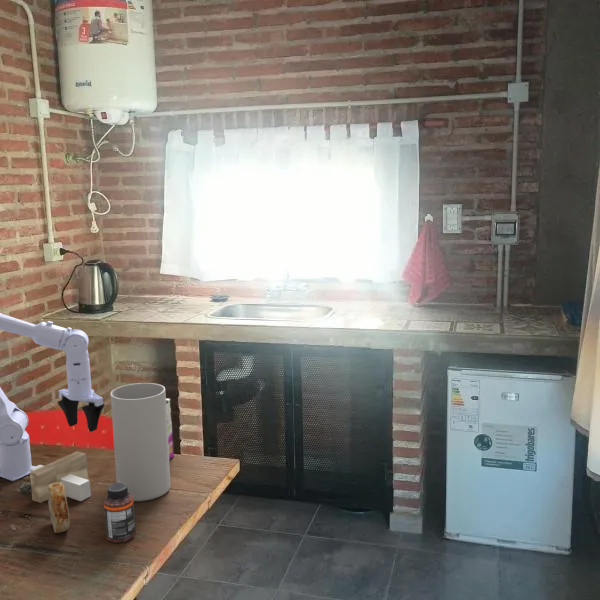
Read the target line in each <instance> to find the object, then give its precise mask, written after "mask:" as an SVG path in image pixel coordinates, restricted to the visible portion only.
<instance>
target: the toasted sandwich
mask: <svg viewBox="0 0 600 600" xmlns="http://www.w3.org/2000/svg"><path fill="white" fill-rule="evenodd" d="M48 490H49V499H48V500H47V501H48V510H49V515H50V519H51V520H50V521H51V524H52V527H53V532H54V533H55V534H60V533H64V532H66V531H68V530H69V528H70V524H71V523H70V512H69V505H68V501H67V496H66V492H65V487H64V483H62V482H56V483H52V484H49V485H48Z"/></svg>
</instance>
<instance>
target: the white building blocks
mask: <svg viewBox="0 0 600 600" xmlns="http://www.w3.org/2000/svg"><path fill="white" fill-rule="evenodd" d="M43 466H44V465H42V464H38V465H36V466H35V467H33V468H31V469H30V472H31V471H34V470H36V469H38V468H41V467H43ZM60 482H62V483H64V487H65V492H66V498H70V499H73V500H76V501H79V502H82V501H84V500H87V499H88V498H89V497H91V496H92V492H91V482H90V480H89V479H88V480H87V479H84V478H81V477H78V476H74V475H71V474H69V475H67V476H65V477H63V478H61V479H60Z"/></svg>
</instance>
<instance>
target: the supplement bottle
mask: <svg viewBox="0 0 600 600" xmlns="http://www.w3.org/2000/svg"><path fill="white" fill-rule="evenodd" d="M103 499H104V500H103V510H104V521H105V522H104V523H105V534H106V538H107V541H108V542H111V543H114V544H115V543H116V544H120V543H121V544H122V543H125V542H127V541H129V540H131V539H133V538H134V536H135V535H136V521H135V507H134V506H135V505H134V504H135V503H134V501H133V496H132V494H131V493H129V492H128V488H127V484H125V483H117V482H114V483H111V484H109V486H108V487H107V495H106V496H105V497H104V498H103Z"/></svg>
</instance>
